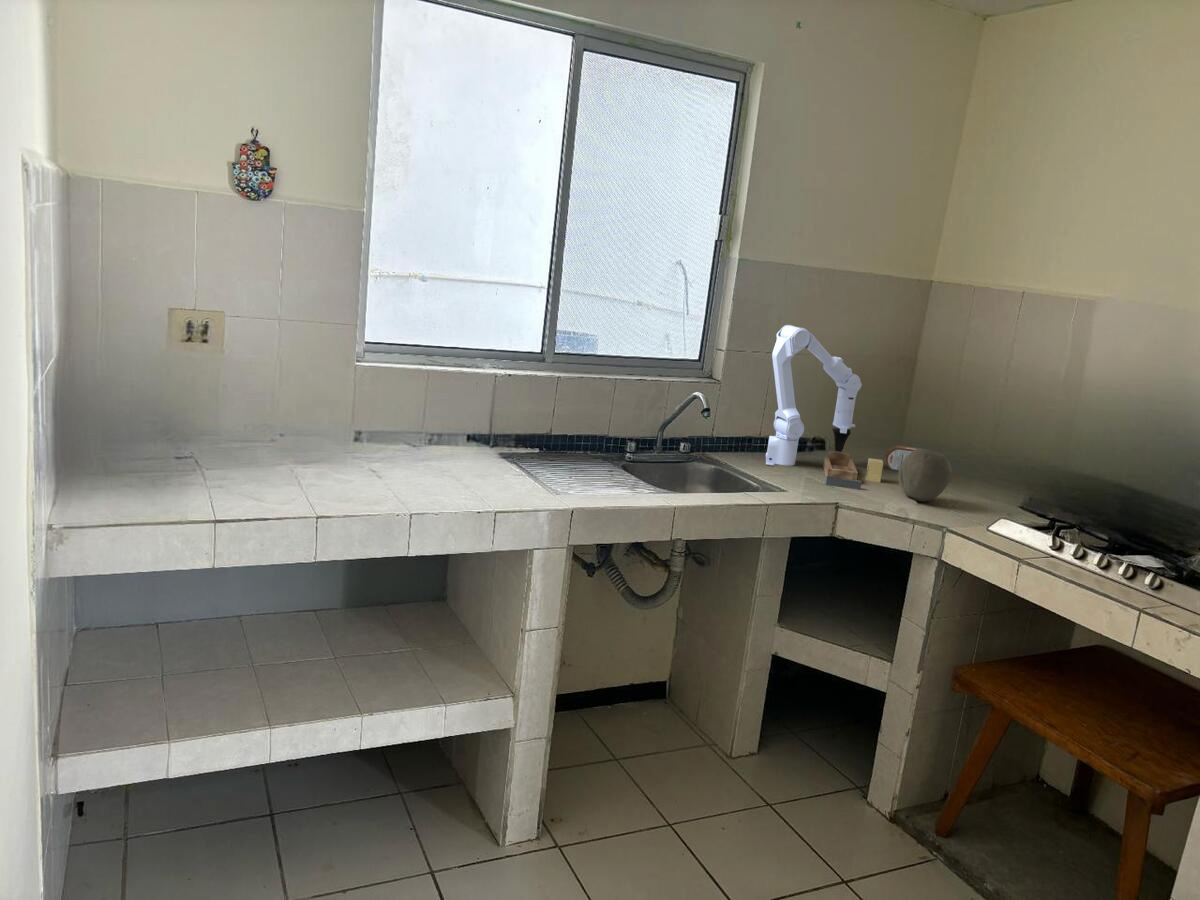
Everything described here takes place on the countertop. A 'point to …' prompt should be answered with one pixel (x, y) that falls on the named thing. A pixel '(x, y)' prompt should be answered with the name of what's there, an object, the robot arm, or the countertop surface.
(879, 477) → the block
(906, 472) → the cantaloupe
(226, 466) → the countertop surface
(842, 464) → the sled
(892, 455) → the tin
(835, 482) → the track
